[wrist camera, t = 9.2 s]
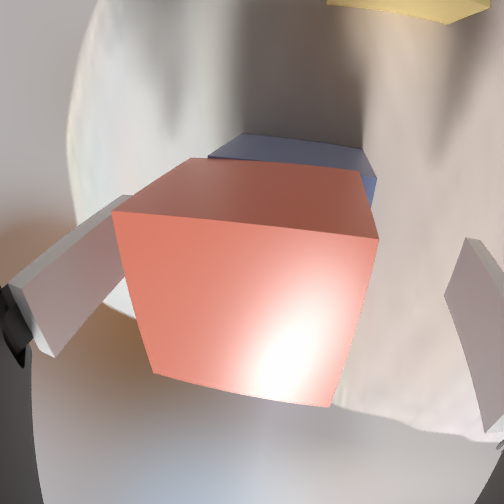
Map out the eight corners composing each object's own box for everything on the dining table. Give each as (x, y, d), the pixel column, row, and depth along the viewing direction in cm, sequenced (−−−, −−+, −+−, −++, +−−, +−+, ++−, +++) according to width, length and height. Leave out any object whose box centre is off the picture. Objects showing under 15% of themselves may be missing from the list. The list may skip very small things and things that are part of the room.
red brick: (191, 157, 11) (111, 211, 7) (358, 171, 10) (379, 239, 6) (201, 289, 14) (153, 372, 10) (335, 308, 13) (329, 407, 9)
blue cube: (242, 133, 15) (207, 155, 11) (362, 149, 14) (376, 177, 10) (238, 237, 18) (209, 289, 14) (342, 254, 17) (343, 312, 13)
